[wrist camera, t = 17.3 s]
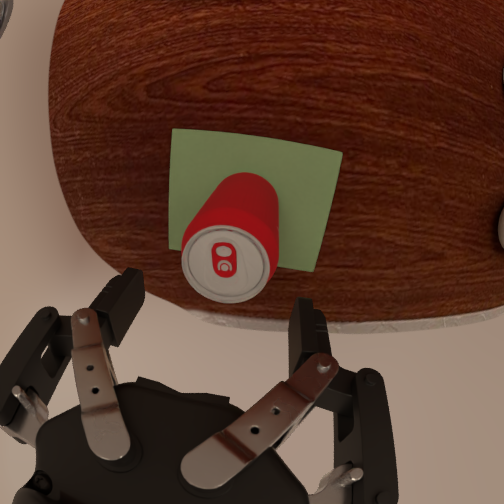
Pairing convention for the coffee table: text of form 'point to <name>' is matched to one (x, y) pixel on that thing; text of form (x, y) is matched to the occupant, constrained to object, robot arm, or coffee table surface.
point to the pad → (267, 166)
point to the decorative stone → (501, 228)
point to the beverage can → (233, 240)
